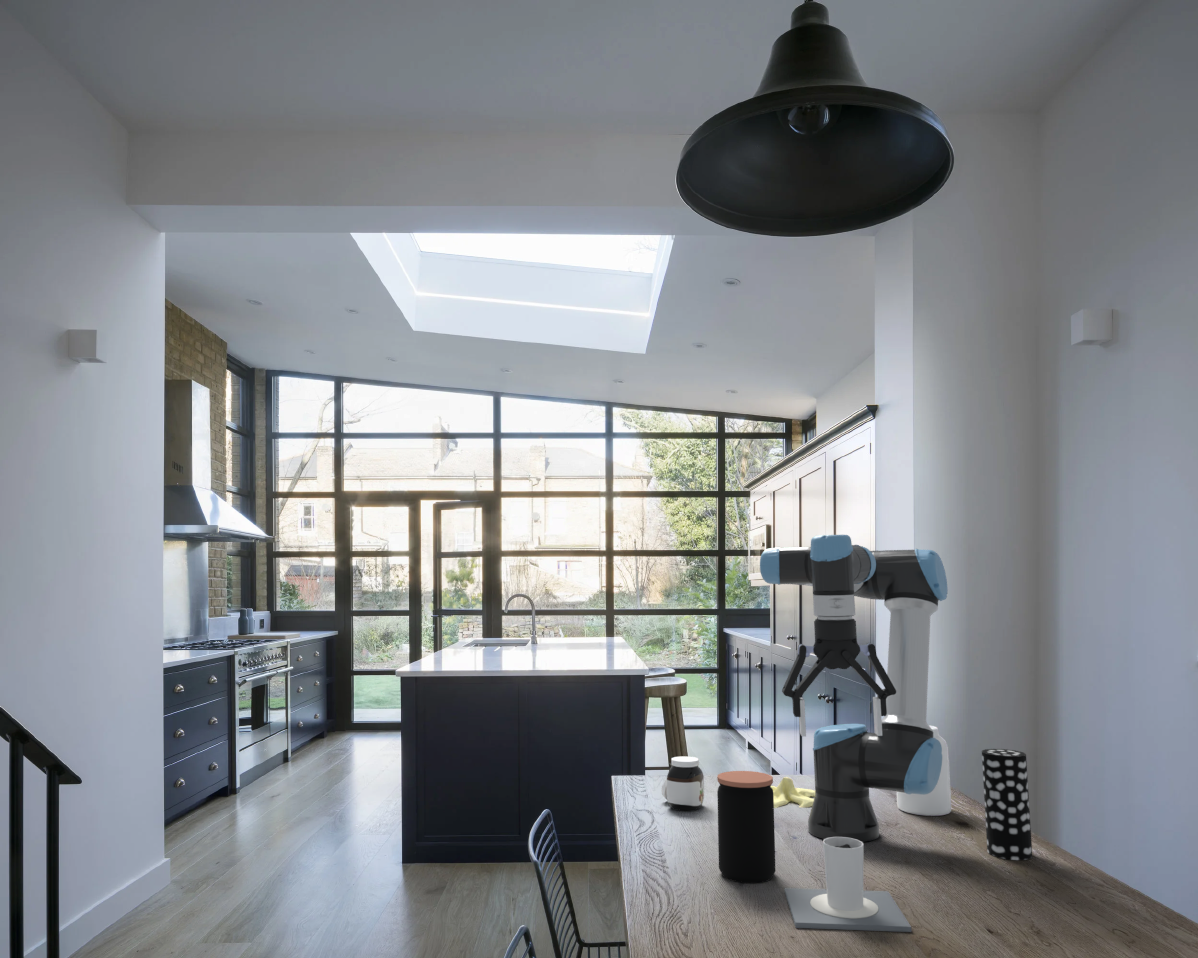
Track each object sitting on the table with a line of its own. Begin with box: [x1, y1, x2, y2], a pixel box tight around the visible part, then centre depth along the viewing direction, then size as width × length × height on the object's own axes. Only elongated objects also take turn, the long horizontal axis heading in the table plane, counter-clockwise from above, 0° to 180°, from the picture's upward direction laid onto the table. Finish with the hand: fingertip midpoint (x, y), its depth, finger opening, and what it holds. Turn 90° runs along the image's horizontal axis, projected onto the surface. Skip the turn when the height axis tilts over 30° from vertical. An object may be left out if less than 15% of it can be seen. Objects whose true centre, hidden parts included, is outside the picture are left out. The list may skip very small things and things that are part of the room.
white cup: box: [822, 837, 865, 911], centre depth 145 cm, size 7×7×10 cm
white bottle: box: [896, 724, 952, 817], centre depth 210 cm, size 12×12×20 cm
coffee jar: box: [716, 770, 776, 884], centre depth 164 cm, size 11×11×18 cm
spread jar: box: [661, 755, 705, 812], centre depth 215 cm, size 12×11×12 cm
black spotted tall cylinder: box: [981, 748, 1033, 861], centre depth 176 cm, size 8×8×20 cm
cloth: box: [771, 776, 815, 809], centre depth 221 cm, size 22×19×6 cm
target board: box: [784, 887, 912, 933], centre depth 144 cm, size 16×18×1 cm
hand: (840, 734), depth 158 cm, fingers open, 13 cm apart
